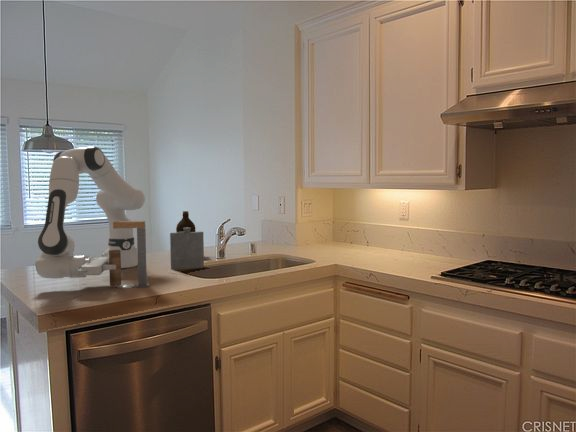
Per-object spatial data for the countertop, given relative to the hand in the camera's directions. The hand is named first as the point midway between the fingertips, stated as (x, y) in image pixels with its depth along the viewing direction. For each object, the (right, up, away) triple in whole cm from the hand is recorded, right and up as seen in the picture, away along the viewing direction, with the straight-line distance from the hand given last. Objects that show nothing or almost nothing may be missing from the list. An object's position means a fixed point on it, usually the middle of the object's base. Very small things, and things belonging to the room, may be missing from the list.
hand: (117, 265), depth 189 cm
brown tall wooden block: (-1, -8, +1) cm, 8 cm away
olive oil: (+11, -3, +77) cm, 78 cm away
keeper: (+5, -9, +2) cm, 11 cm away
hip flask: (+20, -6, +40) cm, 45 cm away
